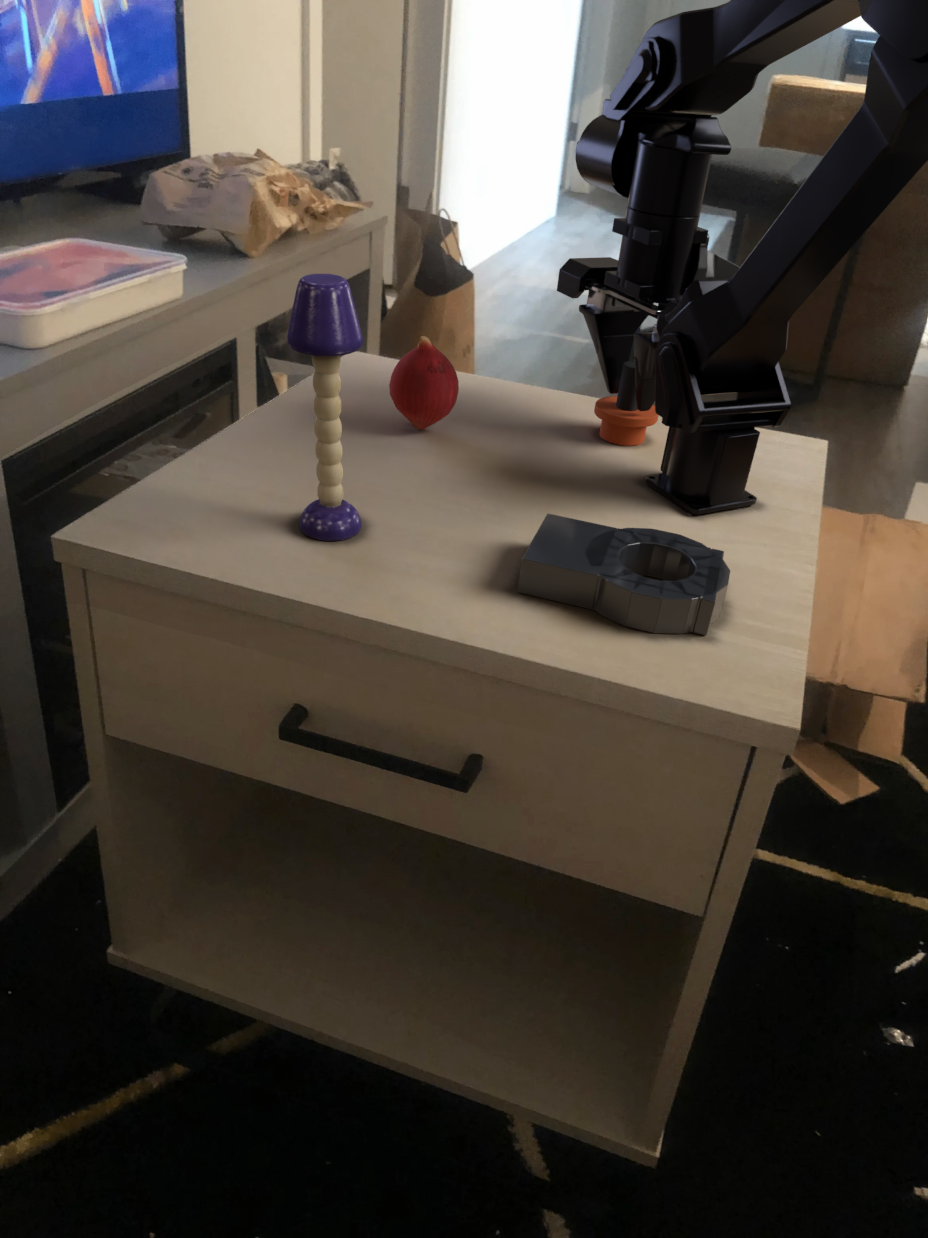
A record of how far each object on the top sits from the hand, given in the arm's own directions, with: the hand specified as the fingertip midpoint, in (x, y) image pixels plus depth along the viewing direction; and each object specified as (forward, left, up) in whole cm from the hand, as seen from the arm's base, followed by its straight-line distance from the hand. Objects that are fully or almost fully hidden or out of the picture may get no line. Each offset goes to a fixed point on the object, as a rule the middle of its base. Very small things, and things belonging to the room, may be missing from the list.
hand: (628, 401), depth 83 cm
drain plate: (-22, +16, -3) cm, 27 cm away
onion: (+7, +17, -4) cm, 18 cm away
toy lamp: (-8, +31, -4) cm, 32 cm away
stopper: (0, 0, -3) cm, 3 cm away
